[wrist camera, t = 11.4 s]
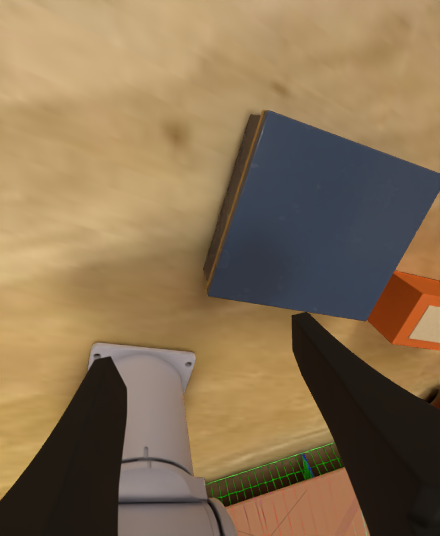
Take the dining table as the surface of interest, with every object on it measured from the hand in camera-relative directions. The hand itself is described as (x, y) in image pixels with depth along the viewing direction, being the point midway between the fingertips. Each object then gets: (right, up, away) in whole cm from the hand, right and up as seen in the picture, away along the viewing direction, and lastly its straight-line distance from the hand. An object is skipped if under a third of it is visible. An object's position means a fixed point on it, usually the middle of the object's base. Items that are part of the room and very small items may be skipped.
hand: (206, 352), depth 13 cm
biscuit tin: (+6, +7, +10) cm, 14 cm away
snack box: (+18, 0, +16) cm, 24 cm away
